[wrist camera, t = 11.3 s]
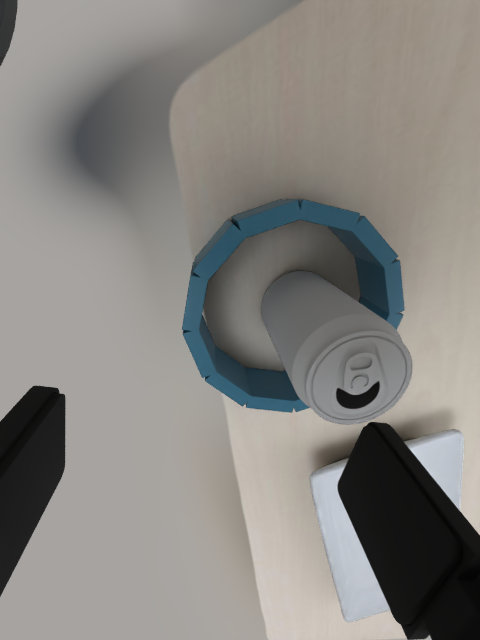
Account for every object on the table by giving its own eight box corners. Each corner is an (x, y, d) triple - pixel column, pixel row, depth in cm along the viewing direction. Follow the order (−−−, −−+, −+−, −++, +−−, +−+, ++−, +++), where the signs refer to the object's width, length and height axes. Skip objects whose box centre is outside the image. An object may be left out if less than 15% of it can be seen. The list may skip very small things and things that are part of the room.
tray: (443, 408, 33) (469, 431, 29) (441, 564, 45) (458, 592, 42) (297, 451, 33) (307, 478, 30) (335, 595, 45) (344, 625, 42)
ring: (143, 277, 24) (130, 294, 20) (324, 152, 22) (352, 141, 17) (251, 410, 30) (259, 444, 26) (400, 322, 28) (433, 344, 24)
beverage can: (262, 342, 27) (301, 441, 16) (255, 274, 25) (296, 336, 14) (330, 331, 27) (414, 421, 16) (330, 262, 25) (429, 315, 14)
